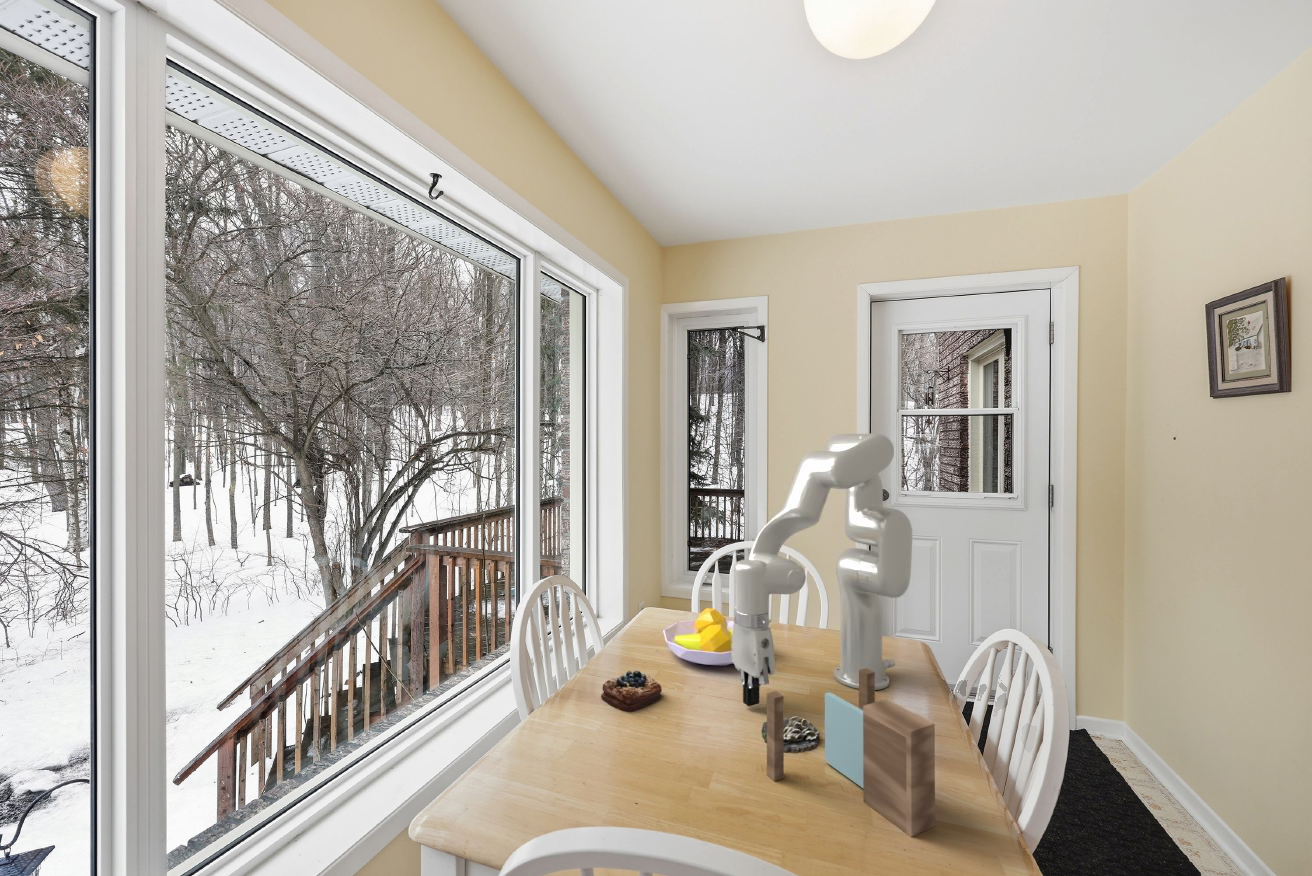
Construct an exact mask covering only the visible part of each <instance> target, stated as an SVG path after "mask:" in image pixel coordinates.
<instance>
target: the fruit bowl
mask: <svg viewBox="0 0 1312 876" xmlns="http://www.w3.org/2000/svg"><path fill="white" fill-rule="evenodd" d="M771 622H772V620H771V619H770V618H769V624H770V623H771ZM733 624H734V620H727V619H726V617H724V615H722V614H721V613H720V612H719V611H718V610H717V609H716V608H710V607H706V608H705V609H704V610H702V611H701V612H700V613H699V614H698V616H697V618H696V619H691V620H682V621H677V622H676V623H673V624H672V625H670V626H668V627H666V628H665V629H663V630H662V631H663V635H664V639H665V642H666V645H667V646H668V649H669V650H670V651H671V652H672V653H673V654H675V656H676V657H678V658H681V659H683V660H685V661H687V662H690V663H693V664H701V665H710V666H723V667H724V666H729V665H731V664H734V663H733V662H732V656H731V643H732V631H733Z"/></svg>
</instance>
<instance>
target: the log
mask: <svg viewBox="0 0 1312 876" xmlns="http://www.w3.org/2000/svg"><path fill="white" fill-rule="evenodd" d="M819 733H820V730H819V731H818V729H817V728H816V727H815V726H814V724H812V722H811V721H808V719H805V718H803V717H799V716H797V715H796V716H792V717H784V753H785V754H788V753H789V754H797V753H805V752H811V751H812V750H815V749H816V748H817V747H818V744H819V741H820V735H819ZM761 738H762V739H763V740H764V743H766V744H767V721H764V722H763V724H762V728H761Z"/></svg>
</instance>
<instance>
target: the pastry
mask: <svg viewBox="0 0 1312 876" xmlns="http://www.w3.org/2000/svg"><path fill="white" fill-rule="evenodd" d="M662 691H663V689H662V686H661V684H660V683H659V682H657V680H656V679H654V678H653V677H651V675H646V674H645V673H642V672H641V671H640V670H634V671H632V670H628V671H627V672H626V673H623V675H620V676H616V677H615V678H614V677H613V678H610V679H608V680H607V681H605V682H604V683H603V684H602V694H600V695H601V696H600V698H601V700H603V702H604V703H607V704H608V705H610V706H612V707H613V708H617V709H618V710H621V711H624V712H627V713H632V712H634V711H637V710H640V709H642V708H644V707H646V706H648V705H651V704H653V703H655V702H656V701H657V700H660V698H661V697H662V694H661V693H662Z"/></svg>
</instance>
